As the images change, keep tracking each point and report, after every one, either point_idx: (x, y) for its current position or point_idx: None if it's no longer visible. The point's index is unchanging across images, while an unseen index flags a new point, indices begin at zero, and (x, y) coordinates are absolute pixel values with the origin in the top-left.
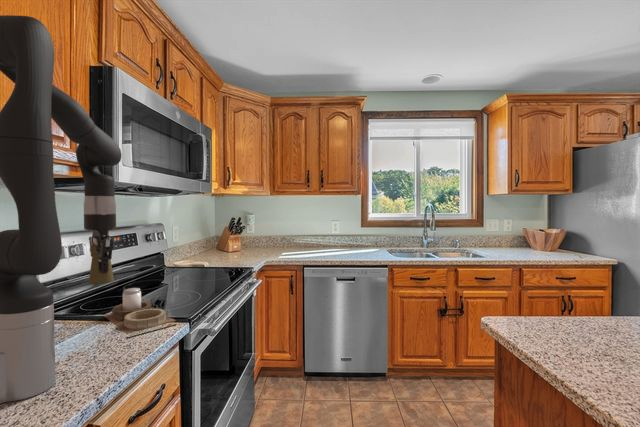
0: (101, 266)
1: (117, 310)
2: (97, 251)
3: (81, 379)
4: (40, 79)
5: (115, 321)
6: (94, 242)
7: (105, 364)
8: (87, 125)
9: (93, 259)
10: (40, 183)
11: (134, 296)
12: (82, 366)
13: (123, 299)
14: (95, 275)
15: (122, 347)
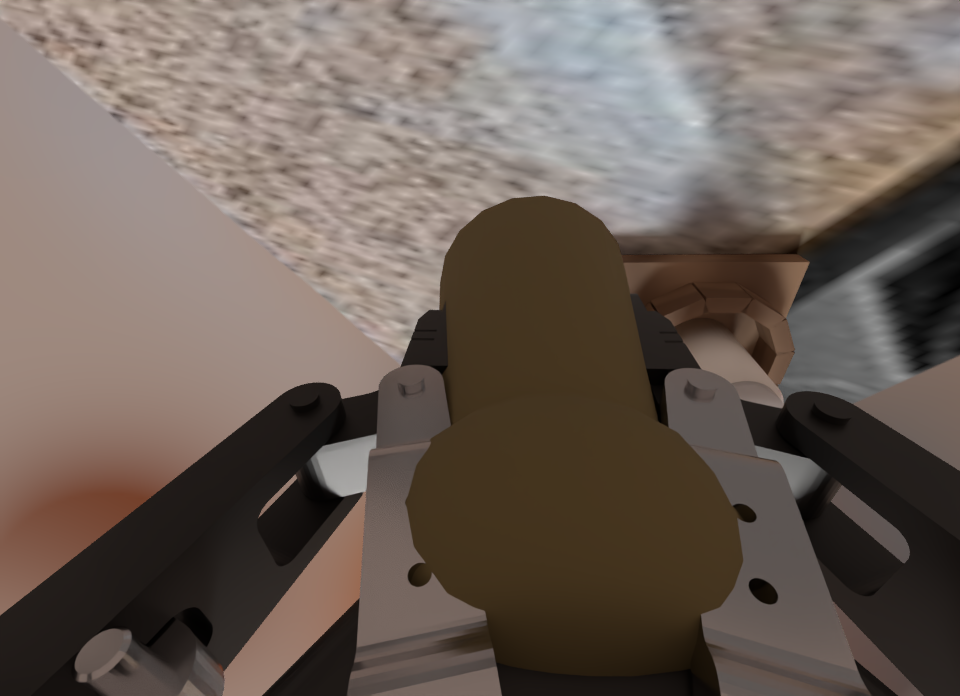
0: (409, 351)
1: (710, 310)
2: (370, 472)
3: (172, 18)
4: None
5: (658, 274)
6: (382, 675)
7: (266, 125)
8: None
9: (505, 349)
10: None
11: None
12: (293, 48)
13: (731, 361)
14: (462, 262)
15: (393, 217)
